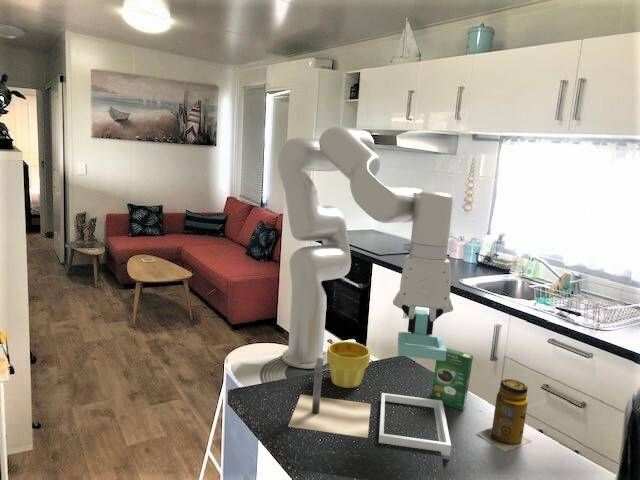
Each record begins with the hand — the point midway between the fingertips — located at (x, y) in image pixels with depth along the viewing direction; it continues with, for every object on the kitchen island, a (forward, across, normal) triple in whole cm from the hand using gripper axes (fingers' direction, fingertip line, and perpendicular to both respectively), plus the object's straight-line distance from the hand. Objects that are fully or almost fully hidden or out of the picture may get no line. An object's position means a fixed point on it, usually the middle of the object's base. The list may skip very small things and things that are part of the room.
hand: (419, 335), depth 106 cm
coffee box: (+19, +9, +10) cm, 24 cm away
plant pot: (+19, -16, +12) cm, 27 cm away
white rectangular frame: (+19, 0, -4) cm, 20 cm away
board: (+19, -17, -6) cm, 26 cm away
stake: (+18, -20, -6) cm, 28 cm away
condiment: (+20, +19, -2) cm, 27 cm away
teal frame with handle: (+1, 0, -4) cm, 4 cm away
